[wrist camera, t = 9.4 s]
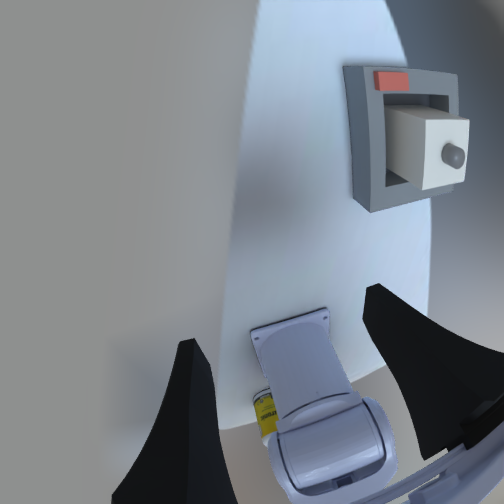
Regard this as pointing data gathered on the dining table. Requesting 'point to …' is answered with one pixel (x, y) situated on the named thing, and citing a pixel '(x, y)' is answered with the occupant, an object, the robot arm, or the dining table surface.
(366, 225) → the dining table surface
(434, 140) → the plug
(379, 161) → the socket plate
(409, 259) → the dining table surface
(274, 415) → the supplement bottle
